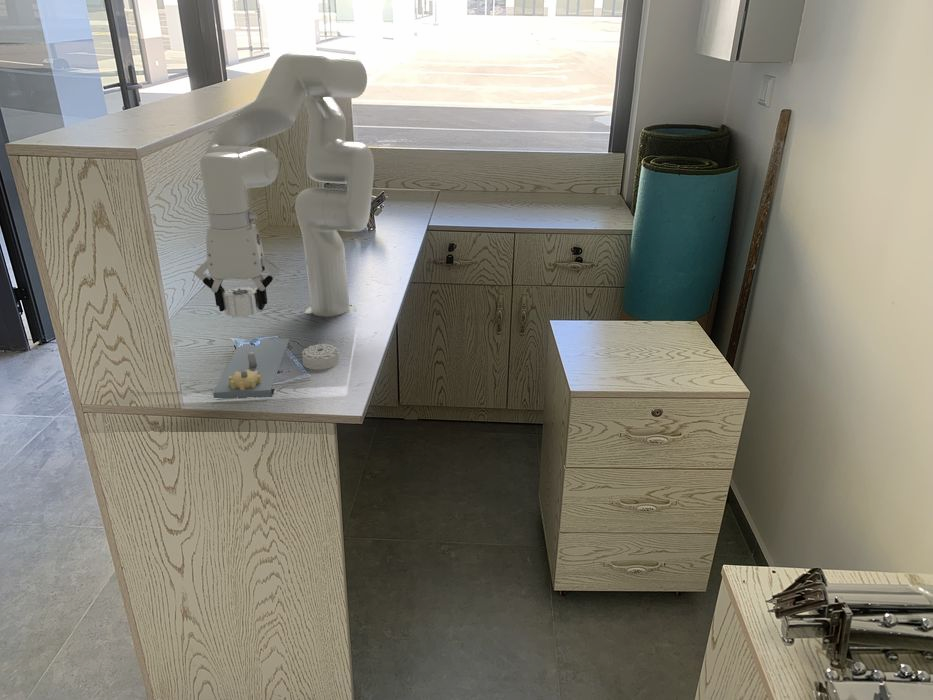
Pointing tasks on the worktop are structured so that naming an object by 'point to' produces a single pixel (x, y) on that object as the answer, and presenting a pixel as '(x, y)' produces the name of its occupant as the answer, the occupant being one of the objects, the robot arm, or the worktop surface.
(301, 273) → the worktop surface
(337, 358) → the mechanical component
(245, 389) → the gear board
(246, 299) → the steel gear
